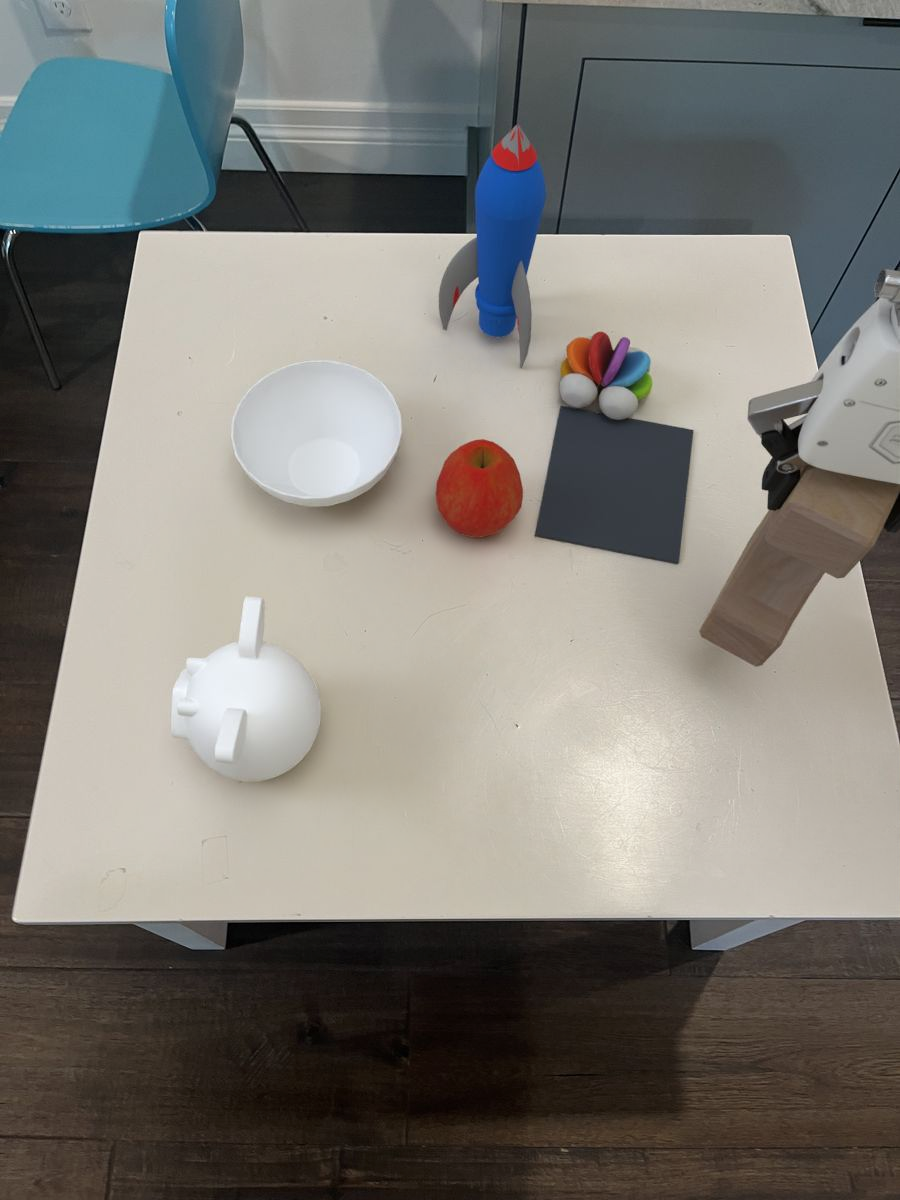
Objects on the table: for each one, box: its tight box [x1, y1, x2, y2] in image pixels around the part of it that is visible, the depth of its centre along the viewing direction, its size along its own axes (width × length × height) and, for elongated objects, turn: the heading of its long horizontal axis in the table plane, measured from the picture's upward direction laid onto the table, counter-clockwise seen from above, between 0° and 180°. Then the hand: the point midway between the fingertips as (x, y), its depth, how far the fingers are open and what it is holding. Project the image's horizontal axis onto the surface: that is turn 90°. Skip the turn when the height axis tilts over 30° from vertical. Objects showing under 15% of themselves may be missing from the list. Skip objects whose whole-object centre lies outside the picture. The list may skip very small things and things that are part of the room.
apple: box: [435, 438, 524, 538], centre depth 81 cm, size 8×8×11 cm
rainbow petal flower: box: [559, 331, 653, 420], centre depth 90 cm, size 8×10×7 cm
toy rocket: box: [438, 123, 547, 369], centre depth 85 cm, size 11×10×25 cm
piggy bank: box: [170, 595, 322, 782], centre depth 69 cm, size 12×12×15 cm
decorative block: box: [698, 464, 900, 668], centre depth 63 cm, size 11×6×20 cm, turn 147°
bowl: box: [230, 359, 403, 507], centre depth 85 cm, size 16×16×7 cm
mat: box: [534, 404, 694, 565], centre depth 88 cm, size 14×16×1 cm
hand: (831, 502), depth 59 cm, fingers closed on decorative block, 7 cm apart
